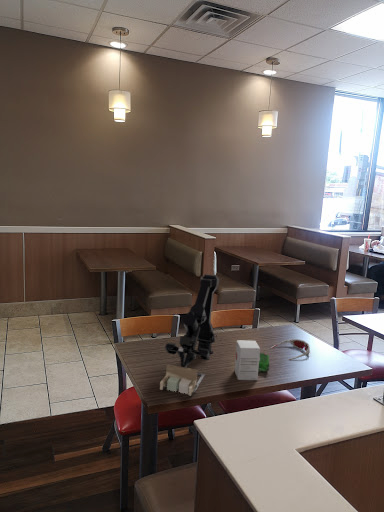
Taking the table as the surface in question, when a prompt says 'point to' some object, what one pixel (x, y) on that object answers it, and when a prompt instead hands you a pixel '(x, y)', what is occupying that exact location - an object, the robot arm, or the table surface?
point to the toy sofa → (180, 376)
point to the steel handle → (198, 380)
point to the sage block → (173, 384)
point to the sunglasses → (298, 344)
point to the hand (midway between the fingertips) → (182, 370)
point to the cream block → (184, 386)
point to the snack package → (263, 362)
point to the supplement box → (247, 360)
